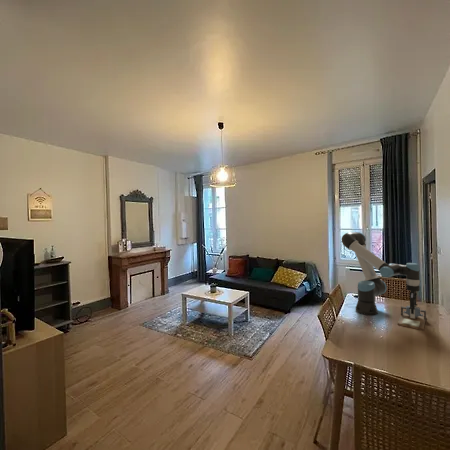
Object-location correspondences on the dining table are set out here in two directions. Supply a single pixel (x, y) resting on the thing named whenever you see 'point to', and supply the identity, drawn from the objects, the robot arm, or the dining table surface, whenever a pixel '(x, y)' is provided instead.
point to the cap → (417, 311)
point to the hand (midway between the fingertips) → (413, 316)
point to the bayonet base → (412, 320)
